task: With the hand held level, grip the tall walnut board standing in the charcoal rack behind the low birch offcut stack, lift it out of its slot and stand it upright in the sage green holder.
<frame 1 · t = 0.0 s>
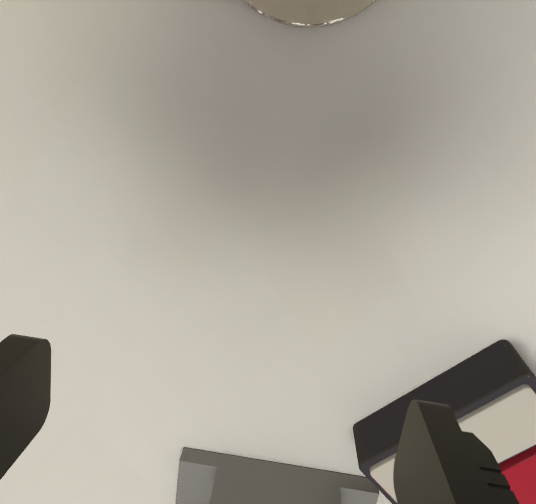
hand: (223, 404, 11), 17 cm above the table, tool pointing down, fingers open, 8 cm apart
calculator: (486, 457, 33), on the table
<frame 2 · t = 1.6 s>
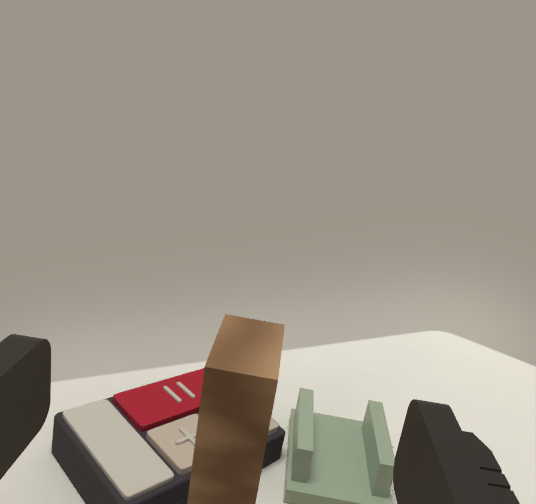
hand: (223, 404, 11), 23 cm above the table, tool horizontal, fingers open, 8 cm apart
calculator: (170, 459, 41), on the table
board holder: (333, 464, 42), on the table
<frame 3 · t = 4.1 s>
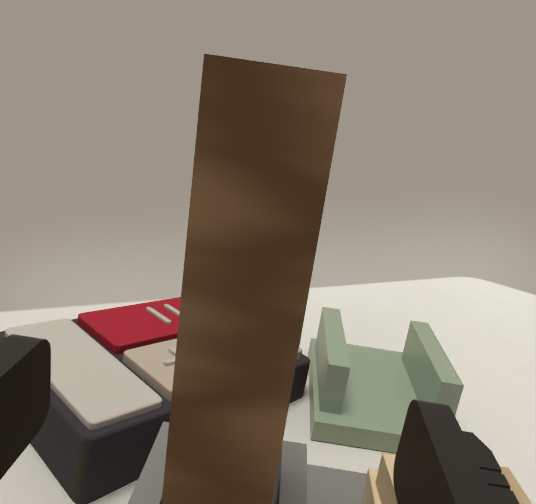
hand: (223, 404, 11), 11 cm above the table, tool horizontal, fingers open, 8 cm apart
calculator: (156, 399, 30), on the table
board holder: (370, 399, 32), on the table
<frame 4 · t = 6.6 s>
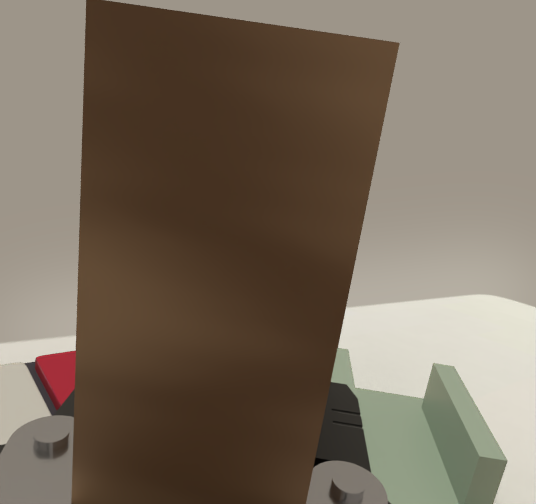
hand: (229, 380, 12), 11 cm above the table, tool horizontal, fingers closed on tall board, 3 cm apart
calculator: (121, 469, 24), on the table
board holder: (386, 462, 27), on the table
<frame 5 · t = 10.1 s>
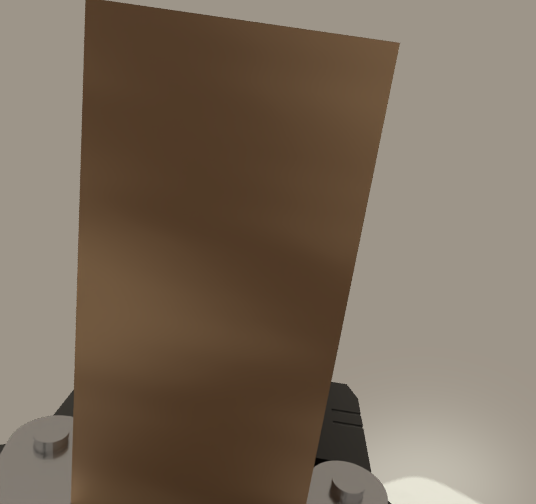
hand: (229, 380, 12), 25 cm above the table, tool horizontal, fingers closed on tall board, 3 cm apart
when the fingers open (12 cm above the table, at t = 13.7 s): tall board stays where it is, resting on board holder.
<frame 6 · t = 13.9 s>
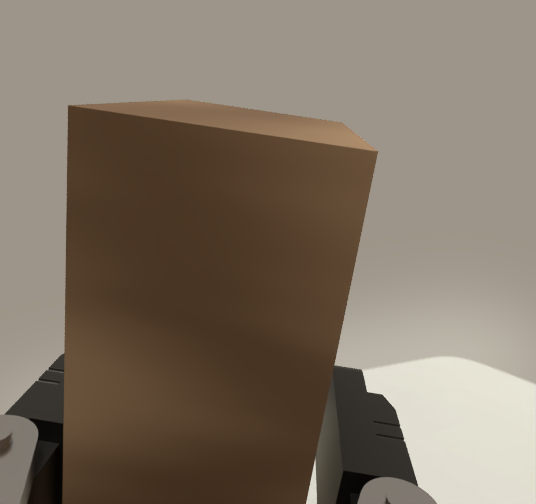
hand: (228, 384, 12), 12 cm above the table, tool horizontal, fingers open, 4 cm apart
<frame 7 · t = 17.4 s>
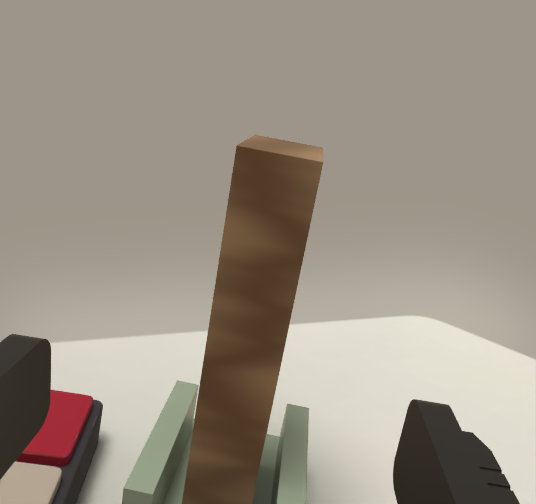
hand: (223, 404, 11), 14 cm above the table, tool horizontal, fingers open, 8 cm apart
tall board: (221, 491, 25), point 1 cm above the table, touching board holder
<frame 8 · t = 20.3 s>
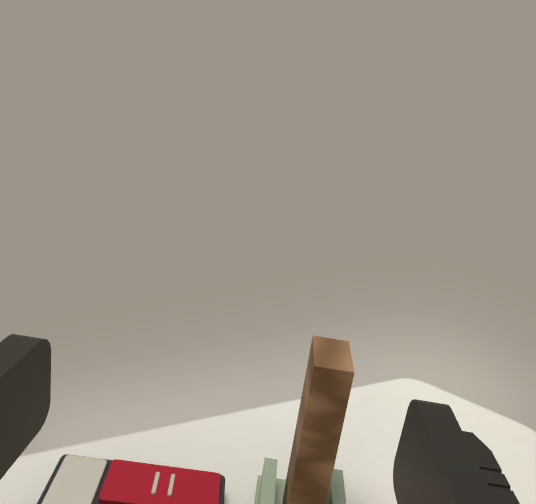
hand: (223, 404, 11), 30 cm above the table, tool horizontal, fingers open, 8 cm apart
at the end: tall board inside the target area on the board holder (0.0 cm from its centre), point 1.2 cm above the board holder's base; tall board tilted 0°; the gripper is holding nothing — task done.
